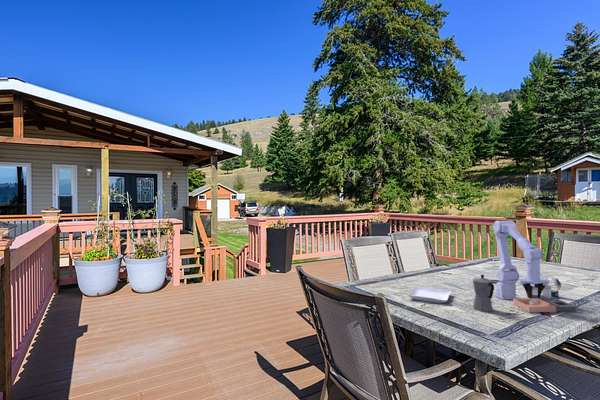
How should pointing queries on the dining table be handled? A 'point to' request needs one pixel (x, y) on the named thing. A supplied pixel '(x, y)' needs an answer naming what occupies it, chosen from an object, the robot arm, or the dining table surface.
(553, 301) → the fuse holder
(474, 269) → the dining table surface
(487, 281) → the coffeepot
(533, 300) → the cylinder
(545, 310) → the parts tray
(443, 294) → the salad plate
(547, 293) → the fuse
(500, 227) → the robot arm
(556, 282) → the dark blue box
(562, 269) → the dining table surface
